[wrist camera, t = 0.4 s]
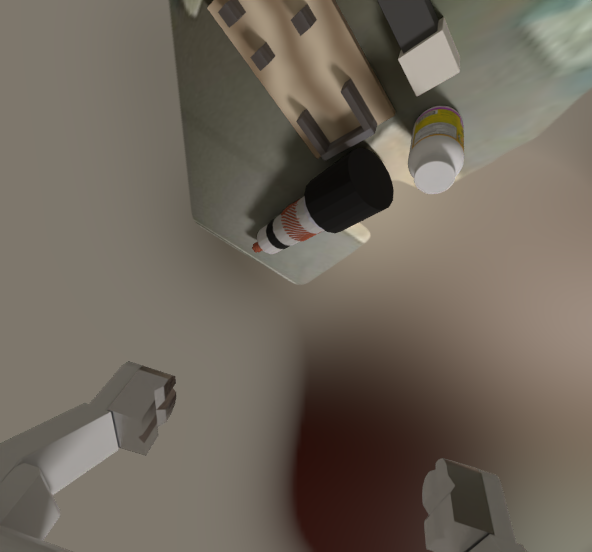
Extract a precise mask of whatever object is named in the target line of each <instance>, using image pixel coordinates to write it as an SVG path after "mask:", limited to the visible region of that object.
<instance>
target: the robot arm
mask: <svg viewBox="0 0 592 552" xmlns="http://www.w3.org/2000/svg"><path fill="white" fill-rule="evenodd" d="M175 384H176V379H175V376H173V375H170V374H167V373H164V372H161V371H158V370H154V369H151V368H148V367H145V366H143V365H139V364H136V363H133V362H130V361H128V362H126V363H125V364H123V365H122V366H121V367H120V368H119V370H118V371H117V372H116V373H115V374H114V375H113V377H112V378H111V379H110V380H109V381H108V383H107V384H106V385H105V386H104V387H103V388H102V390H101V391H100V392H99V393H98V394H97V395H96V397H95V398H94V399H93V400H92V401H91V402H90V404H86V403H83V404H81V405H79V406H77V407H75V408H73V409H71V410H69V411H67V412H65V413H62V414H60V415H58V416H56V417H54V418H52V419H50V420H48V421H46V422H44V423H42V424H40V425H37V426H35V427H33V428H31V429H29V430H27V431H25V432H23V433H21V434H19V435H17V436H14V437H12V438H10V439H8V440H6V441H4V442H2V443H0V552H72V551H70V550H67V549H64V548H61V547H59V546H56V545H53V544H51V543H48V542H45V541H43V540H44V538H45V537H46V535H47V534H48V532H49V531H50V529H51V528H52V527H53V525H54V524H55V522H56V521H57V519H58V518H59V517H60V510H59V508H58V506H57V504H56V501H55V499H54V497H53V494H55V493H57V492H58V491H59V490H61V489H62V488H64V487H65V486H66V485H68V484H70V483H71V482H72V481H74V480H75V479H77V478H78V477H80V476H81V475H83V474H84V473H85V472H87V471H88V470H90V469H91V468H93V467H94V466H96V465H97V464H98V463H100V462H101V461H103V460H104V459H106V458H107V457H109V456H110V455H111V454H112V453H114V452H116V451H117V450H118V449H119V448H122V449H125V450H129V451H132V452H135V453H139V454H142V455H147V453H148V451H149V450H150V448H151V446H152V445H153V443H154V441H155V440H156V438H157V436H158V426H160V425H162V424H163V423H165V422H166V421H167V420H168V418H169V416H170V415H171V413H172V410H173V408H174V405H175V400H176V392H175V390H174V389H173V387H174V385H175ZM118 447H119V448H118ZM422 498H423V505H424V507H425V509H426V511H427V512H428V514H429V516H428V517H427V519H426V520H425V522H424V526H425V539H426V549H428V550H431V551H433V552H527V551H526V549H525V548H524V546H523V545H521V544H519V543H517V542H516V538H515V535H514V531H513V527H512V524H511V519H510V516H509V512H508V508H507V504H506V501H505V497H504V493H503V489H502V486H501V482H500V479H499V478H498V476H497V475H495V474H493V473H490V472H486V471H483V470H479V469H477V468H474V467H470V466H467V465H464V464H461V463H457V462H454V461H450V460H447V459H439V460H438V461H437V463H436V470H433V471H430V472H429V473H428V474H427V476H426V477H425V481H424V484H423V492H422Z"/></svg>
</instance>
